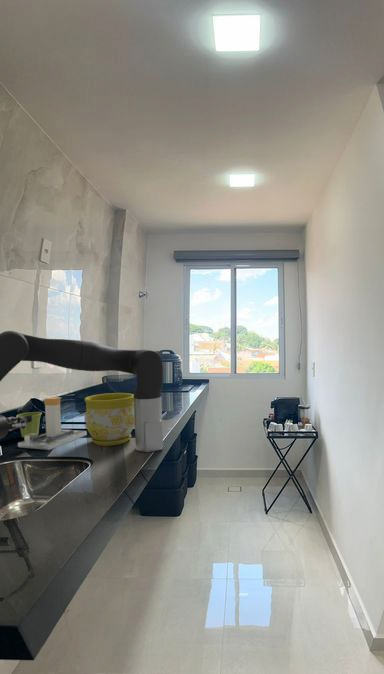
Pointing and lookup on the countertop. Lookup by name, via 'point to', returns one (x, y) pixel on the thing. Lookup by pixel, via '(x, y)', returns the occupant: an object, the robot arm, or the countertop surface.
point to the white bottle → (52, 416)
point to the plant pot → (31, 423)
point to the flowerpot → (110, 418)
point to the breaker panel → (50, 439)
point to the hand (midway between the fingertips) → (30, 418)
